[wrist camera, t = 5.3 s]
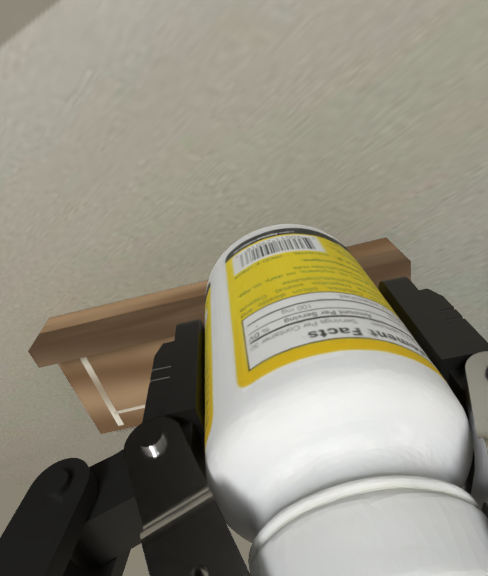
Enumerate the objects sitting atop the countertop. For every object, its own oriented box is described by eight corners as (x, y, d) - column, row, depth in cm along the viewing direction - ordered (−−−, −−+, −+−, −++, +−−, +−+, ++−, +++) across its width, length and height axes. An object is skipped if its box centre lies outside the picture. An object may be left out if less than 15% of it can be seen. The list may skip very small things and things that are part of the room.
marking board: (49, 318, 30) (28, 351, 26) (386, 237, 29) (410, 261, 25) (106, 415, 35) (95, 453, 32) (391, 351, 34) (411, 383, 31)
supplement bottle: (294, 370, 16) (387, 727, 7) (176, 310, 14) (125, 697, 6) (390, 271, 14) (670, 610, 5) (267, 185, 12) (404, 501, 3)
